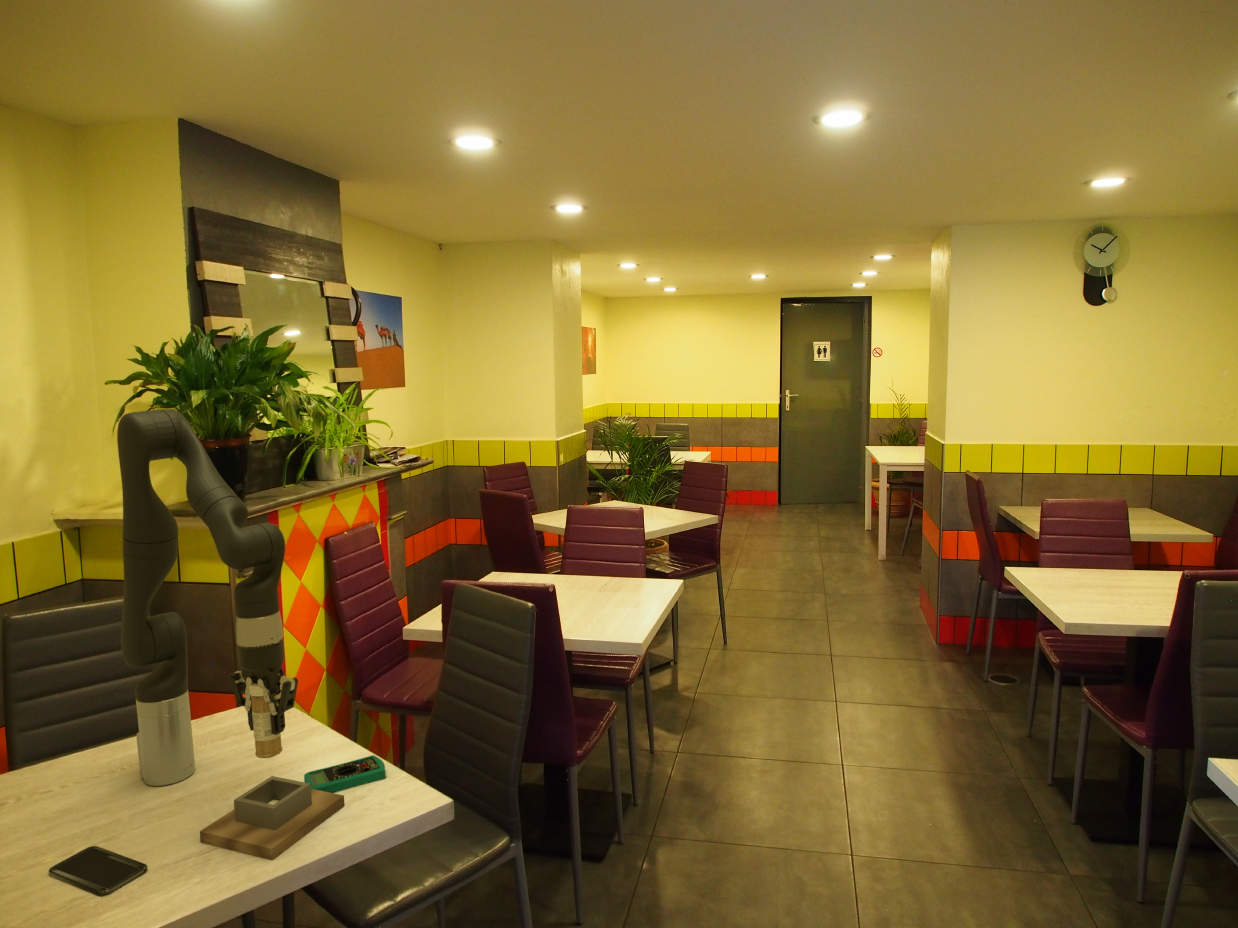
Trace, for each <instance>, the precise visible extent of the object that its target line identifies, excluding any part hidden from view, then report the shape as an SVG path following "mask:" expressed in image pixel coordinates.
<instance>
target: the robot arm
mask: <svg viewBox="0 0 1238 928" xmlns="http://www.w3.org/2000/svg"><path fill="white" fill-rule="evenodd" d="M116 439H117V440H116V441H117V452H118V453H117V454H118V460H119V469H120V477H121V487H122V488H121V489H122V492H121V493H122V558H123V559H122V561H123V563H122V564H123V599H122V600H123V602H122V613H121V624H120V649H121V655H122V658H123V660H124V663H126V666H129V667H130V668H141V667H146V666H149V665H150V666H151V665H154V664H158V663H159V665H158V666H157V667H156V668H155V669H154V670H153V671H152V672H151V673H149V674H147V675H146V676H145V677H143V678H141V679H140V680H139V681H138V682H137V683H136V684H135V688H134V693H135V704H136V706H135V707H136V713H137V722H138V723H137V724H138V732H137V733H136V736H135V737H136V745H137V754H138V755H137V756H138V758H137V759H138V765H139V774H140V776H139V777H140V779H142V780H143V782H144V783H145V784H146V785H148V786H155V787H159V786H160V787H161V786H162V787H163V786H167V785H173V784H175V783H176V784H177V783H179V782H181V781H184V780H186V779H187V778H189V777H190V776H192V775H193V774H194V773H195V770H196V762H195V750H194V740H193V739H194V738H193V727H192V719H191V718H192V717H191V706H190V695H189V685H188V680H189V665H188V661H189V660H188V636H187V628H186V625H185V623H184V620H183V618H182V616H181V615H179V613H177V612H175V611H174V612H173V611H169V612H165V613H161V614H160V613H159V614H155V615H151V616H148V614H149V613H148V612H149V610H150V606H151V602H152V601H153V598H154V596H155V594H157V591H158V589H160V587H161V585H162V584H163V583H164V581H165V579H166V578H167V577H168V575H169V574H170V572H171V570H172V569H173V568H174V565H175V564H176V562H177V559H178V554H179V527H178V521H177V519H176V518H175V516H174V514H173V513H172V512H171V510H170V508H169V507H168V506H167V505H166V504H165V503H164V502H163V500H162V499H161V498H160V496H159V495H158V494H157V491H155V489H154V487H153V485H152V480H151V474H150V463H151V462H152V461H158V460H159V461H160V460H166V459H172V458H176V459H177V460H178V461H180V462H181V463H182V464H183V465H184V467H185V468H186V482H185V483H186V484H185V492H186V493H185V494H186V498H187V502H188V503H189V506H190V507H191V508H192V510H193V511H194V512H195V513H196V515H197V516H198V517H199V519H201V520H202V522H203V523H204V524H205V525H206V526H207V528H208V530H209V532H210V534H211V537H212V539H213V542H214V544H215V548H216V550H217V553H218V556H219V559H221V561H222V562H223V564H224V565H226V566H227V567H229V568H231V569H234V570H245V569H246V570H247V569H249V568H252V569H253V570H252V572H251V573H250V574H249V576H247V577H246V578H244V579H243V580H241V581H239V582H238V583H237V584H236V585H235V587H234V590H233V597H234V609H235V638H236V639H235V640H236V650H237V651H236V655H237V663H238V664H237V665H238V667H239V668H240V669H239V670H237V671H235V672H232V673H230V674H229V675H228V678H229V682H230V685H231V689H232V692H233V695H234V698H235V702H236V704H237V706H238V707H244V710H245V711H246V712H247V725H248V727H249V730H250V731H252V732H254V729H253V717H252V702H251V695H250V693H249V686H250V685H252V684H254V683H257V684H258V685H259V687H260V688H262V689H263V697H264V700H265V703H268V705H269V708H270V711H271V714H272V715H271V728H272V734H274V735H278V734H279V733H280V734H281V733H283V732H284V730H285V728H286V720H285V719H286V718H285V717H286V716H285V715H286V714H285V713H286V712H287V711H288V710H291V709H293V708H294V707H295V701H296V696H297V691H298V690H297V689H298V685H299V679H298V678H297V677H296V676H295V677H292V678H290V677H288V676H286V674H285V672H284V669H283V664H284V662H285V658H286V657H285V656H286V655H285V645H284V644H285V643H284V630H283V622H282V621H283V620H282V615H281V611H280V601H279V600H280V599H279V598H280V597H279V584H280V579H281V576H282V575H281V574H282V571H283V564H284V559H285V555H286V540H285V536H284V534H283V532H282V530H281V529H280V528H279V527H278V526H277V525H276V524H274V523H271V522H262V523H258V524H257V523H256V524H252V525H247V526H244V525H245V523H246V522H247V520H248V518H249V510H248V508H247V505H246V504H245V503H244V502H243V501H242V499H241V498H240V497H239V496H238V495H237V493H235V492H234V490H233V489H232V488H231V487H230V486H229V484H228V483H226V481H225V480H224V479H223V477H222V476H221V475H220V473H219V471H218V470H217V468H216V466H215V465H214V463H213V462H212V460H211V458H210V456H209V455H208V454H209V453H208V452H207V451H206V449H205V447H204V445H203V444H202V442H201V440H200V439H199V437H198V435H197V434H196V431H195V430H194V429H193V427H192V425H191V424H190V423H189V421H188V419H187V418H186V417H185V416H184V415H183V413H181V412H179V411H177V410H175V409H169V408H165V409H162V408H161V409H151V410H141V411H140V410H139V411H133V412H127V413H125V414H123V415H122V416H121V417H120V419H119V421H118V425H117V433H116ZM242 526H243V527H242ZM276 691H277V694H276V695H274V696H271V694H273V693H275V692H276ZM242 692H243V695H242ZM276 700H277V703H278V706H276V703H275V701H276Z"/></svg>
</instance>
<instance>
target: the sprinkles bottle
mask: <svg viewBox="0 0 1238 928" xmlns="http://www.w3.org/2000/svg"><path fill="white" fill-rule="evenodd" d="M249 693H250V695H251V702H252V717H253V729H254V731H253V739H254V748H255V752H254V754H255V757H257V758H258V759H271V758H273V757H276V756H278V755H280V754H281V753H282V752H283V745H282V737H281V733H279V734H278V735H274V734H272V728H271V715H272V714H271V711H270V708H269V705H268V703H265V700H264V697H263V689H262V688H260V687H259V685H258V684H257V683H254V684H252V685H250V686H249ZM276 694H277V691H276V692H275V693H273V694H271V696H274V695H276ZM275 703H276V706H278V703H277V700H276V701H275Z"/></svg>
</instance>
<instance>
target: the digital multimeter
mask: <svg viewBox="0 0 1238 928" xmlns="http://www.w3.org/2000/svg"><path fill="white" fill-rule="evenodd" d="M386 777H387V776H386V765H385V763H384V761H383V760H382V759H380V758H379V757H378V756H376V755H373V754H372V755H369V756H365V757H362V758H359V759H354V760H351V761H348V762H343V763H340V764H336V765H331V766H328V767H325V768H320V769H315V770H311V771H308V772H306V773H305V774H303V778H304V779H303V780H304V783H309V784H311V789H315V790H320V791H325V792H330V793H334V794H335V793H337V792H341V791H343V790H348V789H350V788H354V787H358V786H362V785H365V784H369V783H372V782H373V783H374V782H377V781H381V780H384V779H386Z"/></svg>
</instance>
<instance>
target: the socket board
mask: <svg viewBox="0 0 1238 928" xmlns="http://www.w3.org/2000/svg"><path fill="white" fill-rule="evenodd" d="M311 798H312V805H310V806H309V807H308V808H306V809H305V810H303V811H302V812H301V813H299V814H298V815H296V816H295V817H294V818H292V819H291V820H289V821H288V822H287V823H285V824H284V825H282V826H281V827H280V828H278V829H277V830H271V829H267V828H262V827H258V826H254V825H249V824H245V823H241V822H236V821H235V809H234V808H233V809H231V811H228V812H227V813H226V814H224V815H223V816H221V817H220V818H218V819H217V820H215V821H213V822H211V823H210V824H208V825H207V826H205V827H204V828H202V829H201V830H199V838H200V839H199V840H200V843H202V844H207V845H211V846H214V847H215V846H216V847H219V848H223V849H225V850H231V851H235V852H239V853H243V854H245V855H246V854H247V855H250V856H251V855H252V856H256V857H259V858H263V859H267V860H270V861H271V860H272V861H273V860H275V859H276V858H277V857H279V855H281V854H283V853H284V852H285V851H287V850H288V849H289V848H290V847H292V846H293V845H294V844H296V843H297V842H298V841H299V840H301V839H302V838H304V837H305V836H306V835H308V834H309V833H311V831H313V830H314V829H316V828H317V827H318V826H320V825H321V824H322V823H323V822H325V821H326V820H327V819H329V818H330V817H332V816H333V815H334V814H335V813H337V812H338V811H339V810H341V809H342V808H343V807H344V806H345V795H343V794H339V793H335V792H334V793H330V792H325V791H320V790H315V789H311ZM278 801H279V800H272V801H271V802H269V803H268V804H272V805H274V804H275V803H277V802H278Z"/></svg>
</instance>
